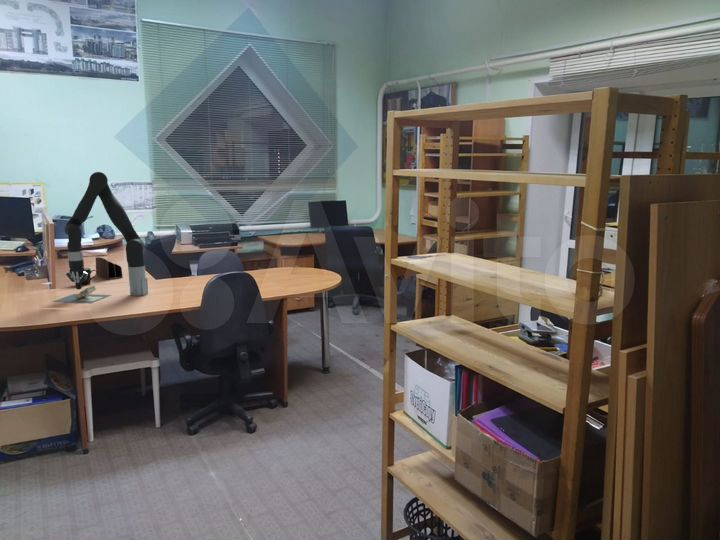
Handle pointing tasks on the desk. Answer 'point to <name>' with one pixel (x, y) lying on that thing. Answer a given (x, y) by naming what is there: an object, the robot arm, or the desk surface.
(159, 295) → the desk surface
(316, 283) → the desk surface
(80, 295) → the birch tile
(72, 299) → the rubber mat
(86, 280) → the coffee mug
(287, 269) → the desk surface
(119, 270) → the letter holder
